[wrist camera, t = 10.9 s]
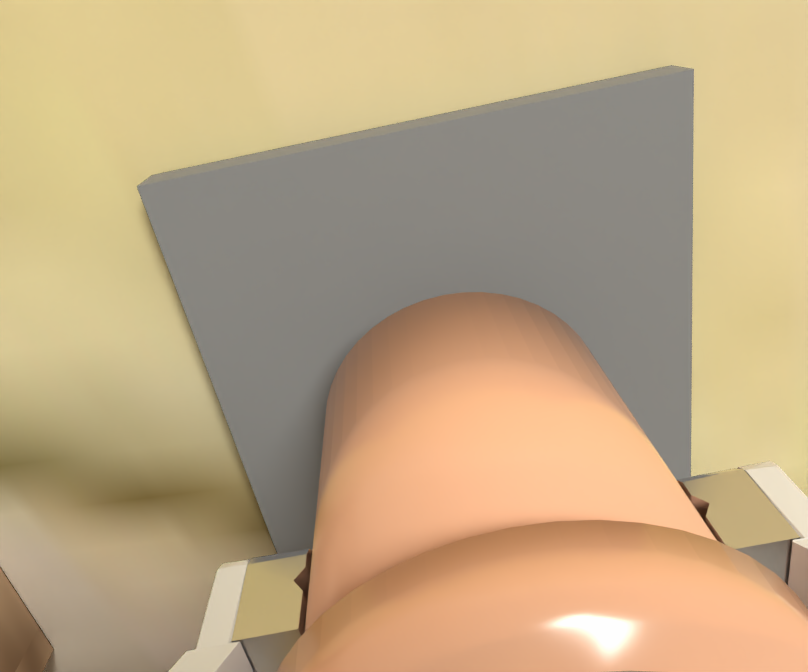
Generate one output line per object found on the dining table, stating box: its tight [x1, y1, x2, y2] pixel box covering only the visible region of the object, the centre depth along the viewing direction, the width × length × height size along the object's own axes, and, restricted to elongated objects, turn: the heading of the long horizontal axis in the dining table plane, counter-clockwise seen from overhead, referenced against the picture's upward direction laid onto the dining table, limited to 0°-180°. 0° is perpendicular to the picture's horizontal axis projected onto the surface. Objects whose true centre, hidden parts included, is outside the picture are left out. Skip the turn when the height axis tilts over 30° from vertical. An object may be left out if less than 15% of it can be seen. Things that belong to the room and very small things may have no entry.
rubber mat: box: [137, 65, 694, 554], centre depth 16 cm, size 12×11×1 cm
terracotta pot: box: [277, 292, 808, 672], centre depth 10 cm, size 7×7×8 cm
